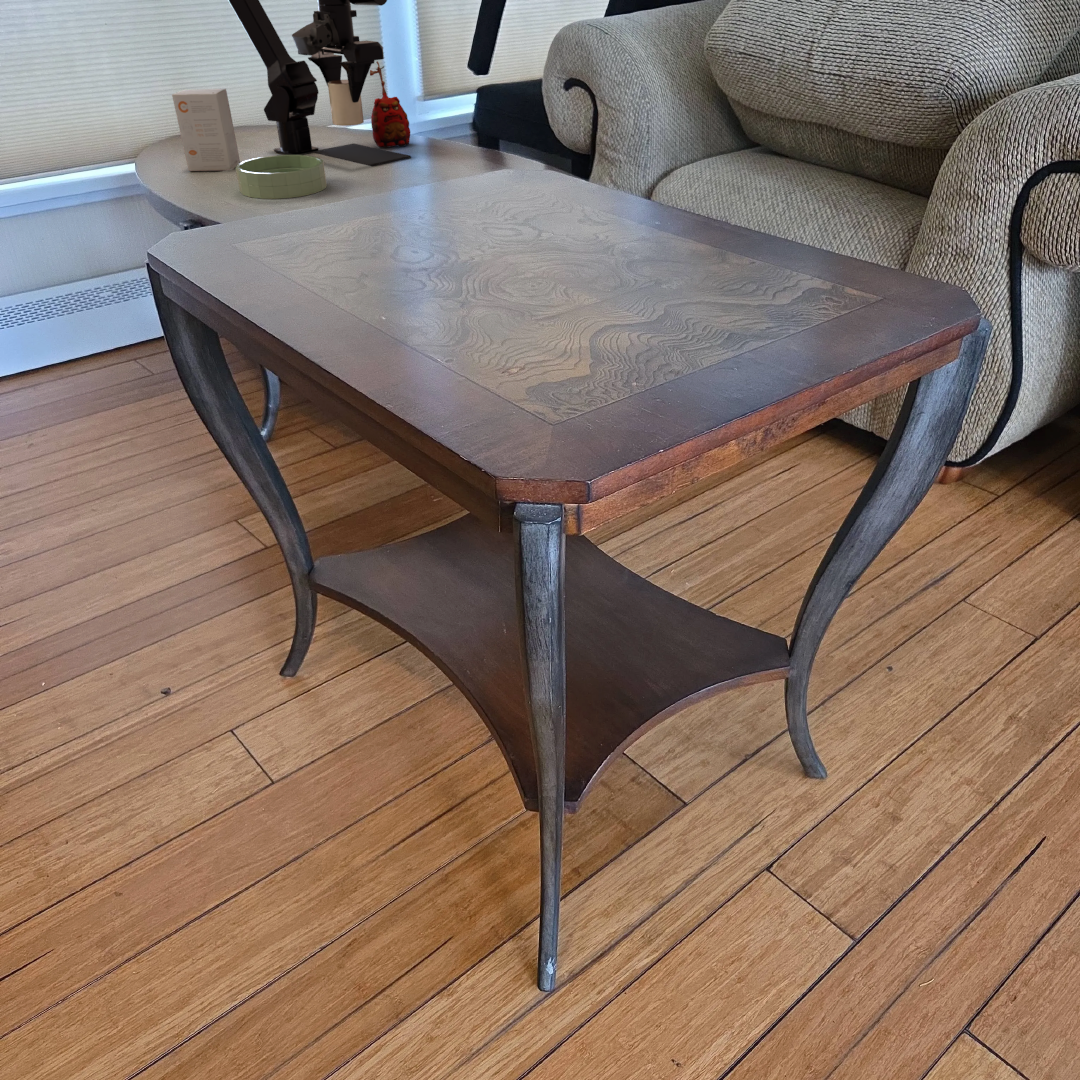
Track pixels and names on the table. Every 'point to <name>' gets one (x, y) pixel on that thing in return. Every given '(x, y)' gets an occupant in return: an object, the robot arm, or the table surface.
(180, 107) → the small box
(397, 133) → the red clay folk toy
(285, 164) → the bowl
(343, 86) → the cup
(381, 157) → the mat
